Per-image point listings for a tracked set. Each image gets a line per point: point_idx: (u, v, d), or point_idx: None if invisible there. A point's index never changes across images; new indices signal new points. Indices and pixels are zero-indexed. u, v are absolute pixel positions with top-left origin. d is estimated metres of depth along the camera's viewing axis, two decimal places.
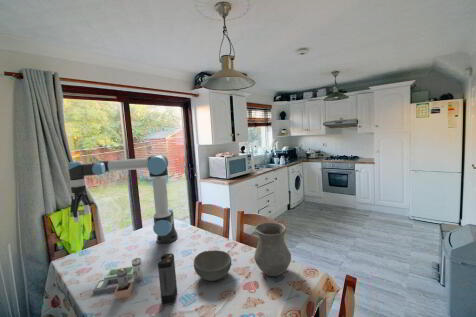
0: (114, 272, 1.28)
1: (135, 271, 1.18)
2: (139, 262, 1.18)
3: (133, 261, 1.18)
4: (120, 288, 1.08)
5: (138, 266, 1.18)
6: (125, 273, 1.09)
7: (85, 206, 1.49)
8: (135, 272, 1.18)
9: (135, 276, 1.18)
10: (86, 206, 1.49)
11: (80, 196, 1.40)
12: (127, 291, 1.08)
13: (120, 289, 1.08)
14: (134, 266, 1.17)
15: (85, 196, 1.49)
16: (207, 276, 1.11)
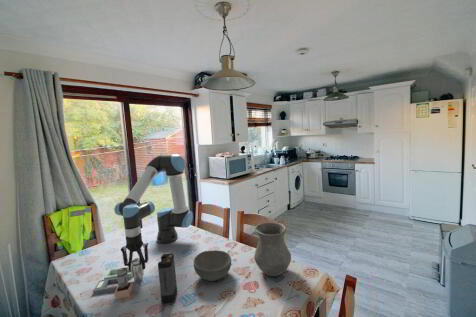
0: (114, 272, 1.28)
1: (135, 271, 1.18)
2: (139, 262, 1.18)
3: (133, 261, 1.18)
4: (120, 288, 1.08)
5: (138, 266, 1.18)
6: (125, 273, 1.09)
7: None
8: (135, 272, 1.18)
9: (135, 276, 1.18)
10: None
11: (130, 248, 1.16)
12: (127, 291, 1.08)
13: (120, 289, 1.08)
14: (134, 266, 1.17)
15: None
16: (207, 276, 1.11)
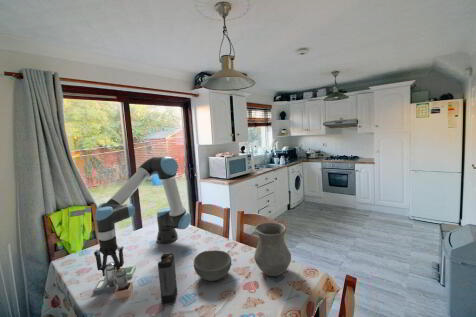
0: None
1: (109, 276, 1.14)
2: (113, 267, 1.15)
3: (107, 265, 1.14)
4: (119, 288, 1.08)
5: (112, 271, 1.14)
6: (124, 273, 1.08)
7: None
8: (109, 277, 1.14)
9: (109, 281, 1.14)
10: None
11: None
12: (127, 291, 1.08)
13: (119, 289, 1.08)
14: (108, 271, 1.13)
15: None
16: (207, 276, 1.11)
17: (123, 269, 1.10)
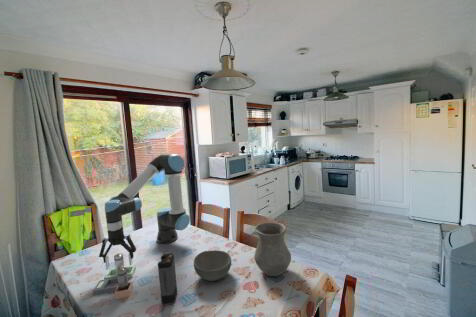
0: (114, 272, 1.28)
1: (117, 266, 1.23)
2: (121, 257, 1.23)
3: (115, 256, 1.23)
4: (119, 287, 1.08)
5: (120, 261, 1.23)
6: (124, 273, 1.09)
7: None
8: (117, 266, 1.23)
9: None
10: None
11: (111, 241, 1.21)
12: (127, 291, 1.08)
13: (119, 288, 1.08)
14: (116, 261, 1.22)
15: (128, 242, 1.24)
16: (207, 276, 1.11)
17: (124, 268, 1.11)
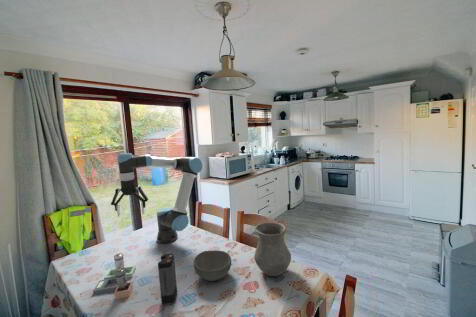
0: (114, 272, 1.28)
1: (117, 266, 1.23)
2: (121, 257, 1.24)
3: (115, 256, 1.23)
4: (118, 288, 1.08)
5: (120, 261, 1.23)
6: (122, 274, 1.08)
7: None
8: (117, 266, 1.23)
9: None
10: None
11: (124, 191, 1.30)
12: (127, 291, 1.08)
13: (118, 289, 1.08)
14: (116, 261, 1.22)
15: None
16: (207, 276, 1.11)
17: (122, 269, 1.09)
